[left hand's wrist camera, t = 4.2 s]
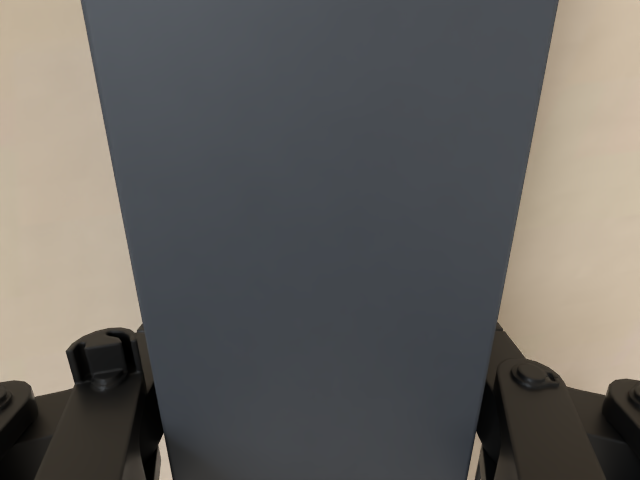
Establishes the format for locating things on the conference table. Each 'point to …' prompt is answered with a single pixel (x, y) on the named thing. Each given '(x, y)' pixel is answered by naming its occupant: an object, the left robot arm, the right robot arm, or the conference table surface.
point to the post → (319, 220)
